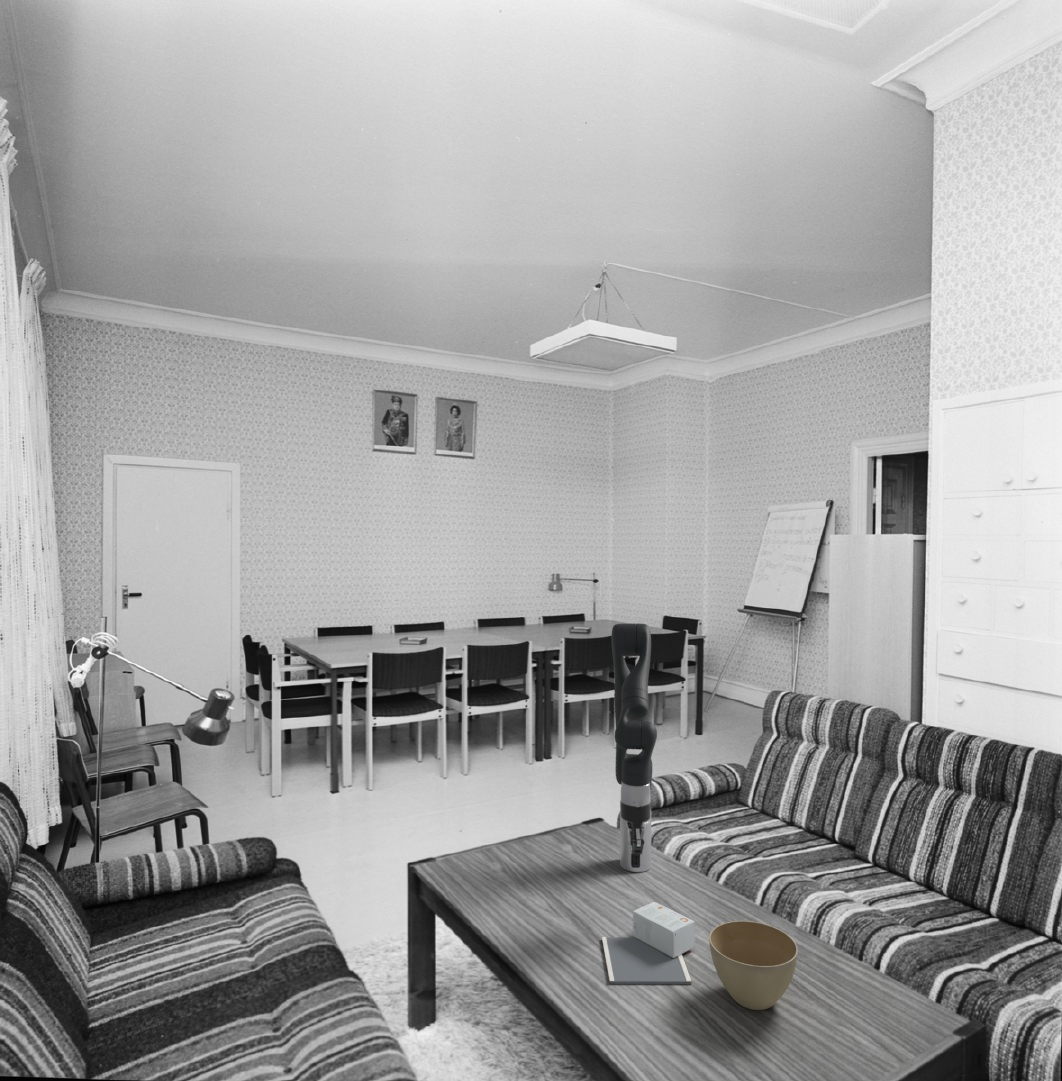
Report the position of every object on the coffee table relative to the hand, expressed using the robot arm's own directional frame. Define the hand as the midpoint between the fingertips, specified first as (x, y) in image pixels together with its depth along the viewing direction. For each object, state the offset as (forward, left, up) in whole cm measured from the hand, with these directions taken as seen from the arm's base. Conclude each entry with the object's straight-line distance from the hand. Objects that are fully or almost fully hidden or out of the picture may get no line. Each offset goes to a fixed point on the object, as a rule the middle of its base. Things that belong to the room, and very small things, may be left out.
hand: (635, 866), depth 191 cm
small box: (+4, +1, -11) cm, 12 cm away
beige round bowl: (+31, +21, -15) cm, 40 cm away
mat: (+17, 0, -15) cm, 22 cm away
